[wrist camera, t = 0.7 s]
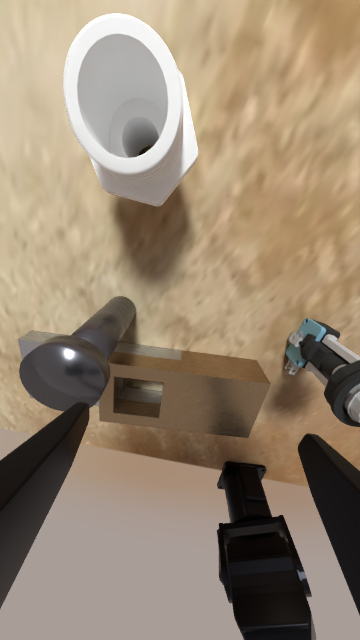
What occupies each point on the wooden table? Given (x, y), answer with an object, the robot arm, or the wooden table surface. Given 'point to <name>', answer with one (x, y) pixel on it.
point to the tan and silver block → (177, 388)
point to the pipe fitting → (129, 108)
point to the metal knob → (77, 359)
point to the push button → (328, 367)
